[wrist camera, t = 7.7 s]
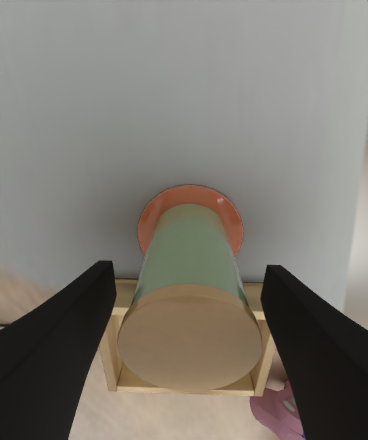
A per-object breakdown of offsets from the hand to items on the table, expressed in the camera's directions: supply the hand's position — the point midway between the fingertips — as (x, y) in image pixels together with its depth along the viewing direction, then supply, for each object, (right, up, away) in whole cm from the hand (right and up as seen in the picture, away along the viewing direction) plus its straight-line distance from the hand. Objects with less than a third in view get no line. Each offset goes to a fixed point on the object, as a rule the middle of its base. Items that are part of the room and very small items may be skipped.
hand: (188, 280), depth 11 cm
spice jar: (0, +2, +4) cm, 4 cm away
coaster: (0, +2, +4) cm, 4 cm away
